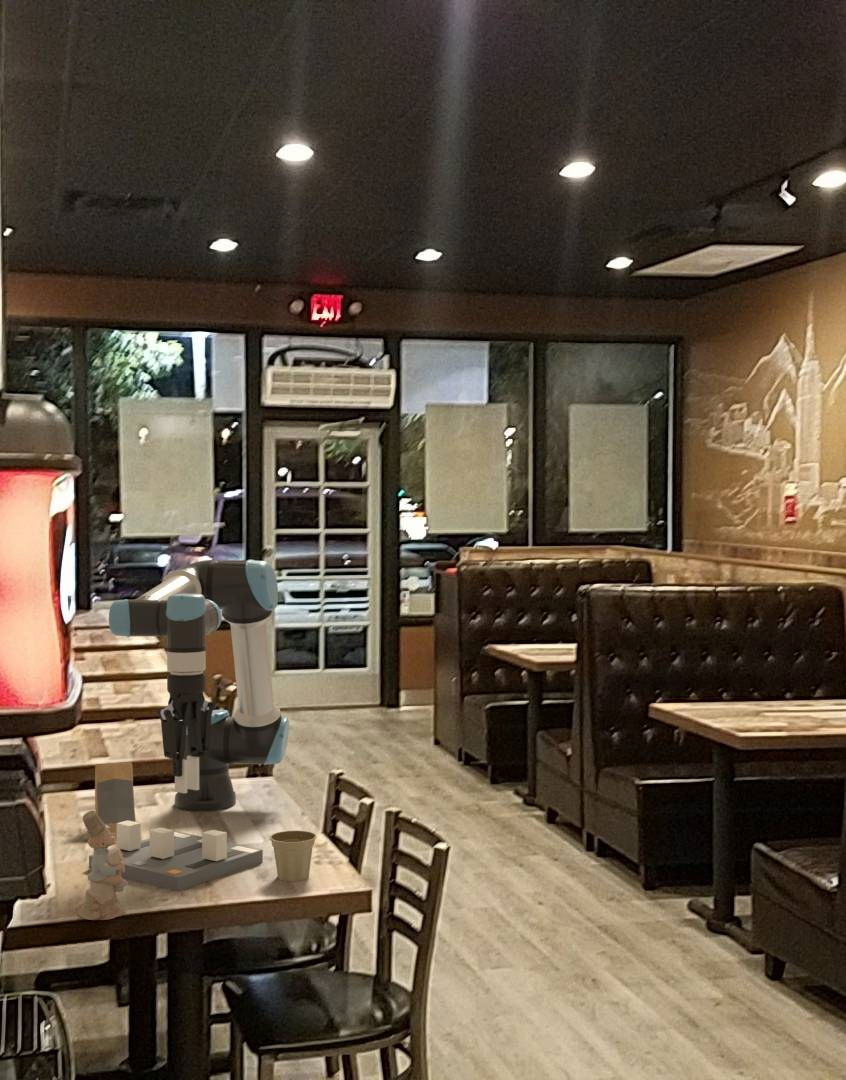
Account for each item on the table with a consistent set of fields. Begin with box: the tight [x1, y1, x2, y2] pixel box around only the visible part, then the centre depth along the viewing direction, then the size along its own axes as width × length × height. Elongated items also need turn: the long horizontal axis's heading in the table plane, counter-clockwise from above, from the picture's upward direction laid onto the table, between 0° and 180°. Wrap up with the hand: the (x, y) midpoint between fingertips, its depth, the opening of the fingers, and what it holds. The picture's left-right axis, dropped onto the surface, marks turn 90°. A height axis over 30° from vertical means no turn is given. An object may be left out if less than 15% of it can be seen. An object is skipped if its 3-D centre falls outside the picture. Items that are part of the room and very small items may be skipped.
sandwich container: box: [94, 762, 136, 841], centre depth 287 cm, size 9×15×15 cm, turn 17°
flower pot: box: [269, 829, 318, 882], centre depth 253 cm, size 9×9×9 cm
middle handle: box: [149, 827, 175, 859], centre depth 258 cm, size 3×4×5 cm
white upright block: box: [201, 829, 228, 861], centre depth 256 cm, size 3×4×5 cm
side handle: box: [116, 820, 142, 851], centre depth 264 cm, size 3×4×5 cm
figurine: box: [77, 810, 129, 921], centre depth 230 cm, size 9×8×20 cm
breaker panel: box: [88, 830, 264, 892], centre depth 261 cm, size 24×26×3 cm
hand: (187, 790), depth 250 cm, fingers open, 3 cm apart
